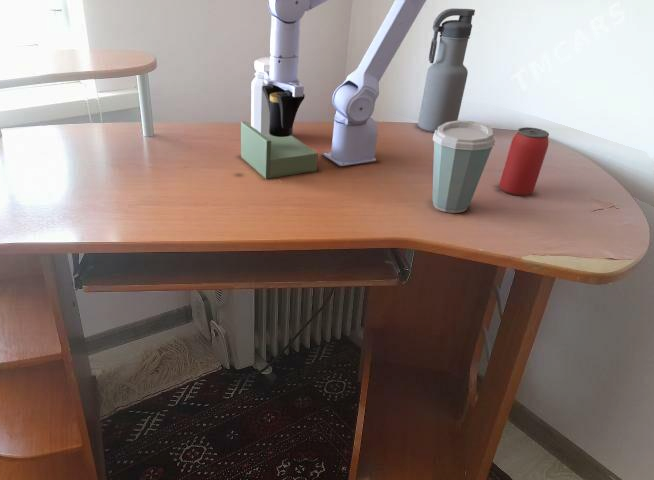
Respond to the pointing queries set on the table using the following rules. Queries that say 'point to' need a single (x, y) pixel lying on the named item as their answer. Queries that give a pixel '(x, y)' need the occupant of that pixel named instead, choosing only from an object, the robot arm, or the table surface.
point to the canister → (277, 119)
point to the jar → (260, 98)
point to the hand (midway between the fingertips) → (281, 123)
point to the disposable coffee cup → (459, 163)
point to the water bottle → (446, 70)
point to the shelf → (275, 153)
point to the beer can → (524, 161)
